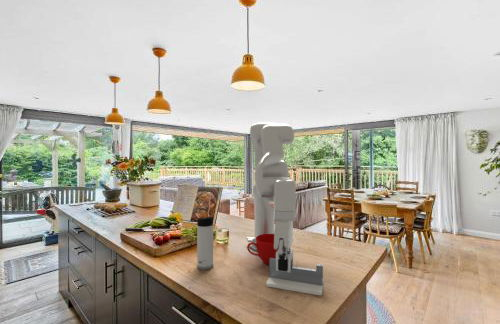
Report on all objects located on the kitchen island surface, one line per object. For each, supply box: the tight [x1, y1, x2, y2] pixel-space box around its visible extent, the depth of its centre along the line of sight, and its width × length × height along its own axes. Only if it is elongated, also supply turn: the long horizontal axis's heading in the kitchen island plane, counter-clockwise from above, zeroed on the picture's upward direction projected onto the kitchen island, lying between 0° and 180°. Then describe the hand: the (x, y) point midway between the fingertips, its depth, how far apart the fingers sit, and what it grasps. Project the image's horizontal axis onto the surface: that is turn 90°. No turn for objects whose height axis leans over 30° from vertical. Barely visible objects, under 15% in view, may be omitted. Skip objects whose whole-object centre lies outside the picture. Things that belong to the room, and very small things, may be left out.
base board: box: [265, 277, 324, 296], centre depth 87 cm, size 18×10×1 cm, turn 71°
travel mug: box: [196, 216, 214, 271], centre depth 100 cm, size 6×7×20 cm
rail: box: [269, 258, 324, 287], centre depth 87 cm, size 18×1×6 cm, turn 71°
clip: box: [276, 248, 294, 273], centre depth 88 cm, size 5×5×6 cm
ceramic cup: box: [246, 234, 279, 266], centre depth 104 cm, size 13×17×10 cm
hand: (284, 266), depth 88 cm, fingers closed on clip, 5 cm apart
